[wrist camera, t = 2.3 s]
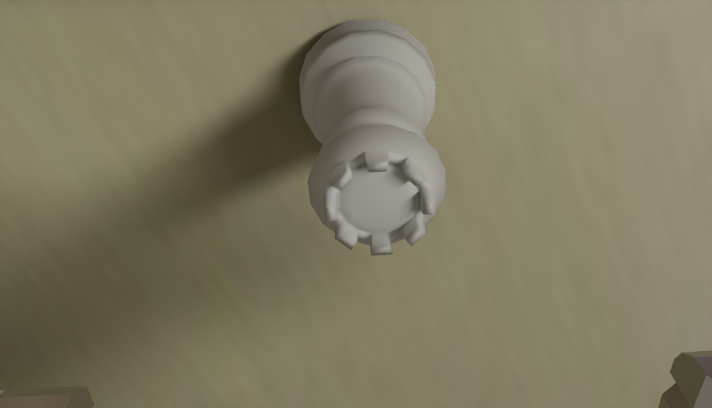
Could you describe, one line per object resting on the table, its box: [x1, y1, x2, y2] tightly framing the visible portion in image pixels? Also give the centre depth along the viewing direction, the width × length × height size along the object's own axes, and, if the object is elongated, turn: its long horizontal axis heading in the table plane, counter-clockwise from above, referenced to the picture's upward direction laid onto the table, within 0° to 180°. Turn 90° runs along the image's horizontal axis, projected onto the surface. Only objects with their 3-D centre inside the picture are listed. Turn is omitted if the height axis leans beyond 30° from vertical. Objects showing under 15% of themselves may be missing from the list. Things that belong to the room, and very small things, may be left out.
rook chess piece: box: [299, 19, 446, 255], centre depth 17 cm, size 4×4×8 cm
